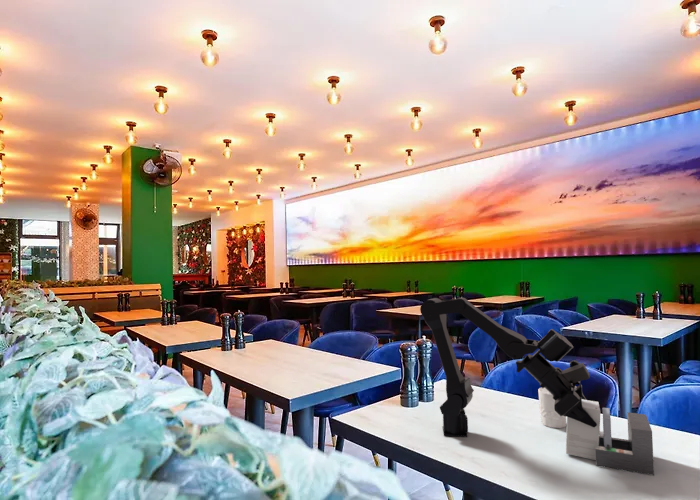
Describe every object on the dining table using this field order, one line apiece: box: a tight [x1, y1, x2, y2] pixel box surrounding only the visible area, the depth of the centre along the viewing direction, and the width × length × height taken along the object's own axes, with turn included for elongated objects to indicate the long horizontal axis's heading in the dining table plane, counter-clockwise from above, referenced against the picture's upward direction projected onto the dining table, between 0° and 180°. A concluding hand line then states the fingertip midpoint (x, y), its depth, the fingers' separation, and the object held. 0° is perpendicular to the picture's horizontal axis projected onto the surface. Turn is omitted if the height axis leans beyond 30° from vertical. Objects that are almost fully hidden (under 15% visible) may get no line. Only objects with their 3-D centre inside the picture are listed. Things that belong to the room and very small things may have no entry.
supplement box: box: [565, 399, 602, 461], centre depth 113 cm, size 7×7×13 cm
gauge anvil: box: [595, 412, 655, 476], centre depth 108 cm, size 12×12×10 cm
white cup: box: [537, 387, 567, 429], centre depth 133 cm, size 8×8×10 cm
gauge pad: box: [601, 407, 612, 449], centre depth 109 cm, size 2×10×10 cm, turn 152°
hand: (595, 420), depth 111 cm, fingers open, 8 cm apart
